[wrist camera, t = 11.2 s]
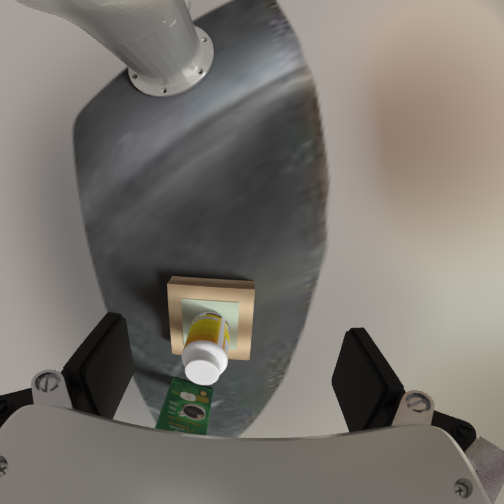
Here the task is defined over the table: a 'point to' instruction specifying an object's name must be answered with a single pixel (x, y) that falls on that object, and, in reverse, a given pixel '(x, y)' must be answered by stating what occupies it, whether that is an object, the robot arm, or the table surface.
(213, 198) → the table surface
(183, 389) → the coffee box
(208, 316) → the supplement bottle
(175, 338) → the base
